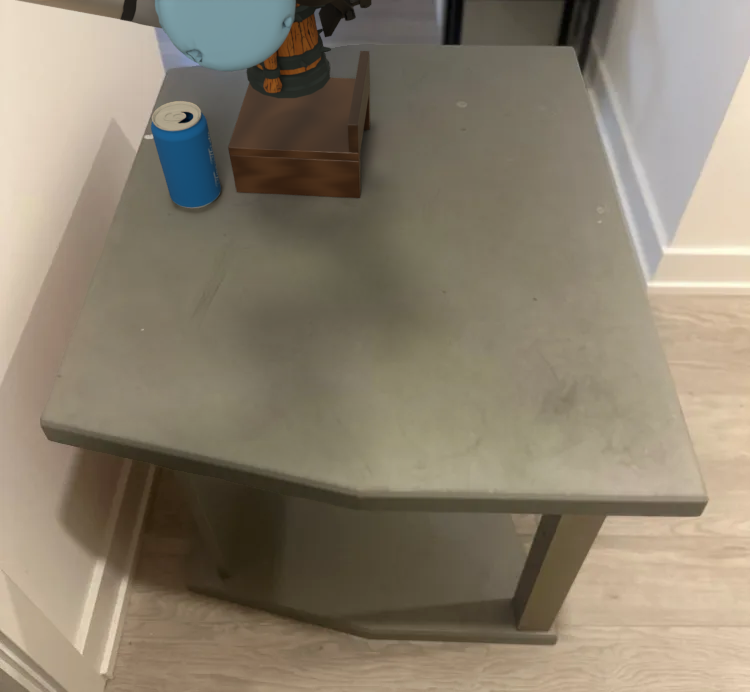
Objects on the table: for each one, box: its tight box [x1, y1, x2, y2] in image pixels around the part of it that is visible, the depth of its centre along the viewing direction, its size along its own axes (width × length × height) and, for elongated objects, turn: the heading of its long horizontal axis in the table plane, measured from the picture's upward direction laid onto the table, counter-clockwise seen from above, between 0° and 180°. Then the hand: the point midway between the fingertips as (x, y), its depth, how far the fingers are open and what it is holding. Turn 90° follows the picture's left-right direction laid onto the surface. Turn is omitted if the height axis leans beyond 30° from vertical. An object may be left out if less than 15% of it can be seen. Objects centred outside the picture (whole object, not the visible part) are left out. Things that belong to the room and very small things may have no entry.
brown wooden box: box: [227, 50, 371, 199], centre depth 96 cm, size 16×16×11 cm
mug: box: [246, 4, 332, 98], centre depth 80 cm, size 13×10×12 cm
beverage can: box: [150, 100, 222, 209], centre depth 90 cm, size 6×6×12 cm
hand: (281, 33), depth 83 cm, fingers closed on mug, 10 cm apart
